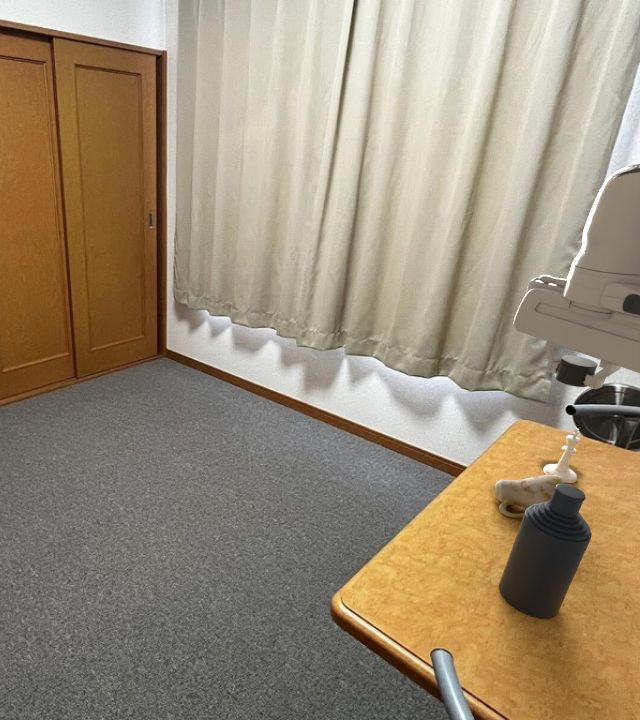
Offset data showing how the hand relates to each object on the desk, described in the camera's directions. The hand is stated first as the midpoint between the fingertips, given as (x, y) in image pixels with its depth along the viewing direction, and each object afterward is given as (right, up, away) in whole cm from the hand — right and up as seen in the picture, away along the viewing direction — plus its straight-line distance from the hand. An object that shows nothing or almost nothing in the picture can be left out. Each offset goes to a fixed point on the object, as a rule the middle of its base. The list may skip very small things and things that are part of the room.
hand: (572, 379), depth 71 cm
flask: (-11, -30, -6) cm, 32 cm away
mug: (+1, -23, +10) cm, 25 cm away
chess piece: (+13, -19, +18) cm, 29 cm away
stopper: (0, 0, 0) cm, 0 cm away
